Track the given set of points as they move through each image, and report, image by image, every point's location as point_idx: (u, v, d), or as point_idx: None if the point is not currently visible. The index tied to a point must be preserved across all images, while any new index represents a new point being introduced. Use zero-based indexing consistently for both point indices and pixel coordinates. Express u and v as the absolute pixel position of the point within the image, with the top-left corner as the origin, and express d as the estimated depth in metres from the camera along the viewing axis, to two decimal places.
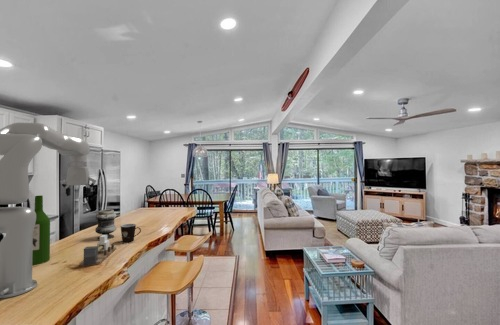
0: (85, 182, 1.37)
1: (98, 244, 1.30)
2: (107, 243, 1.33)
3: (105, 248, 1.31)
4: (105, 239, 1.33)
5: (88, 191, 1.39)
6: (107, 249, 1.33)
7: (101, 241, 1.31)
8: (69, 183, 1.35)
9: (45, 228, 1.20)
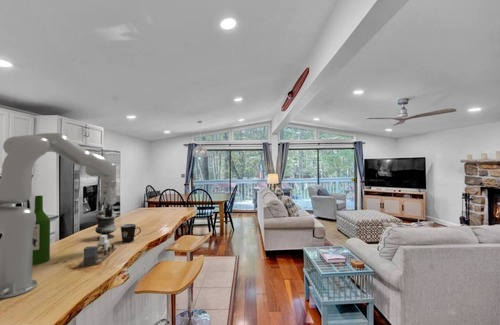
0: (116, 200, 1.45)
1: (98, 244, 1.30)
2: (107, 243, 1.33)
3: (105, 248, 1.31)
4: (105, 239, 1.33)
5: None
6: (107, 249, 1.33)
7: (101, 241, 1.31)
8: (111, 203, 1.37)
9: (45, 228, 1.20)
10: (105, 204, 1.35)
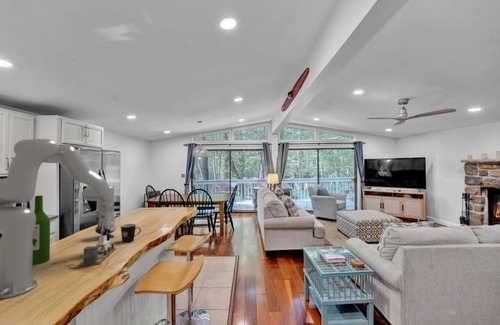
0: None
1: (97, 245, 1.29)
2: (106, 244, 1.32)
3: (104, 249, 1.30)
4: (104, 240, 1.32)
5: None
6: None
7: (100, 242, 1.30)
8: (109, 227, 1.34)
9: (45, 228, 1.20)
10: (102, 229, 1.32)
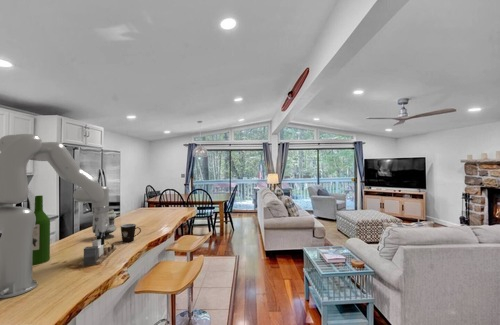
0: None
1: None
2: (100, 248, 1.24)
3: (98, 254, 1.23)
4: (98, 244, 1.24)
5: None
6: (100, 255, 1.24)
7: None
8: (103, 230, 1.26)
9: (45, 228, 1.20)
10: (96, 232, 1.24)
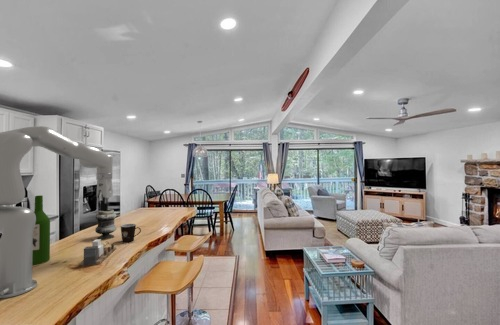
0: (112, 193, 1.39)
1: None
2: (100, 248, 1.24)
3: (98, 254, 1.23)
4: (98, 244, 1.24)
5: None
6: (100, 255, 1.24)
7: None
8: (107, 196, 1.31)
9: (45, 228, 1.20)
10: (100, 197, 1.29)
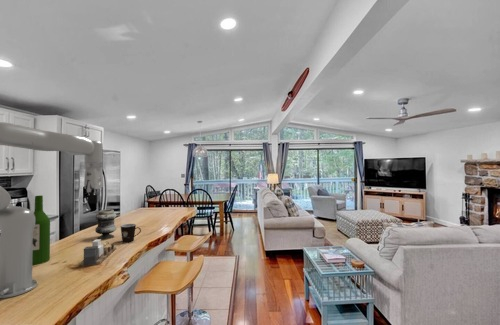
0: (102, 184, 1.25)
1: None
2: (100, 248, 1.24)
3: (98, 254, 1.23)
4: (98, 244, 1.24)
5: None
6: (100, 255, 1.24)
7: None
8: (96, 186, 1.18)
9: (45, 228, 1.20)
10: (89, 188, 1.16)
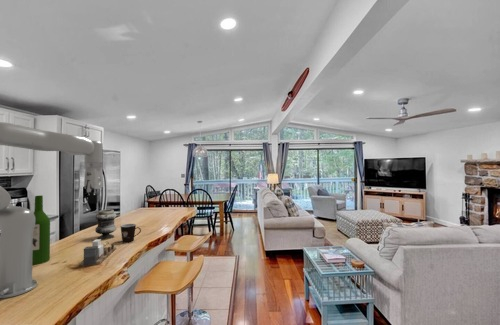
0: (102, 184, 1.25)
1: None
2: (100, 248, 1.24)
3: (98, 254, 1.23)
4: (98, 244, 1.24)
5: None
6: (100, 255, 1.24)
7: None
8: (96, 186, 1.18)
9: (45, 228, 1.20)
10: (89, 188, 1.16)
